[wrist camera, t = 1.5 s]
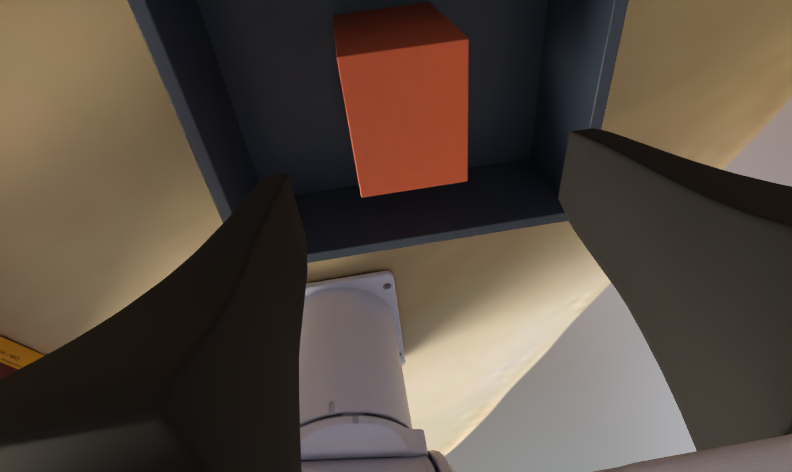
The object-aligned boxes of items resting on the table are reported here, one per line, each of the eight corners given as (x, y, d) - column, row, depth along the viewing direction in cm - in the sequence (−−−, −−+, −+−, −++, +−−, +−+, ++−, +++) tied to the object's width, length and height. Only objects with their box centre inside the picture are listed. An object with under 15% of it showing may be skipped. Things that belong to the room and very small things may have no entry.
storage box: (258, 203, 23) (244, 273, 19) (160, -76, 15) (97, -66, 11) (534, 160, 24) (582, 218, 19) (568, -126, 16) (658, -136, 12)
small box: (435, 118, 21) (468, 181, 16) (352, 130, 21) (361, 198, 16) (429, 1, 18) (469, 38, 13) (332, 14, 17) (336, 56, 13)
